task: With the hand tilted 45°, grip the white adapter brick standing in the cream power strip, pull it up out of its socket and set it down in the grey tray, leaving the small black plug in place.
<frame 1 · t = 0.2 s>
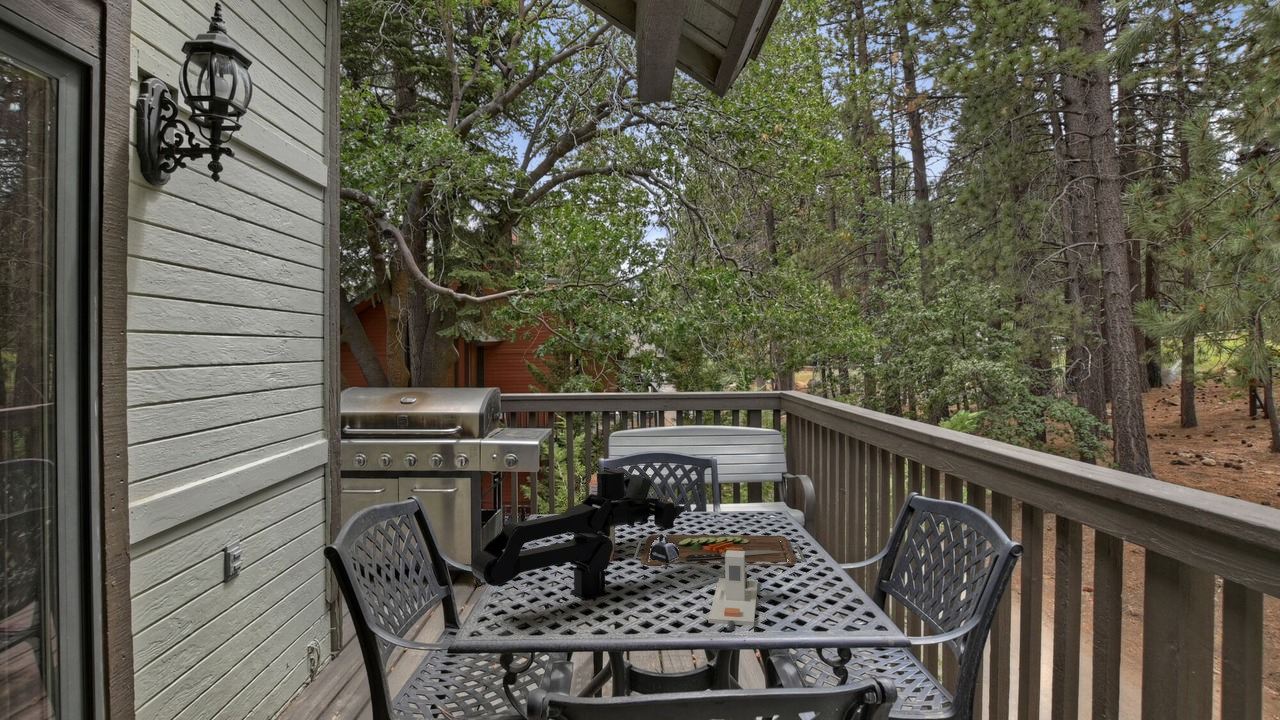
hand: (671, 504, 170), 17 cm above the table, tool horizontal, fingers open, 9 cm apart
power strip: (735, 605, 146), on the table
cracker box: (603, 554, 184), on the table
black plug: (737, 587, 155), point 1 cm above the table, touching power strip
adapter: (735, 598, 148), point 1 cm above the table, touching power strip
tray: (690, 580, 162), on the table
chopping board: (717, 554, 184), on the table
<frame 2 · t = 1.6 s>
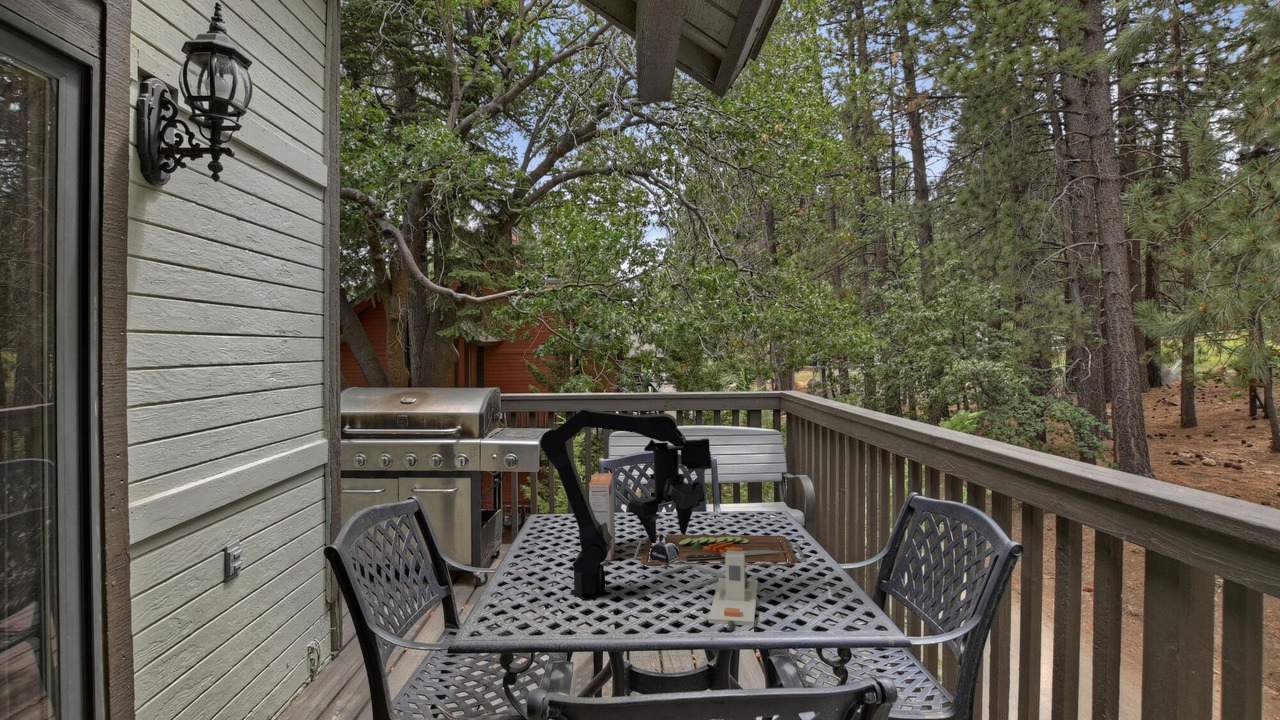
hand: (668, 538, 153), 13 cm above the table, tool pointing down, fingers open, 9 cm apart
nothing on the table moved.
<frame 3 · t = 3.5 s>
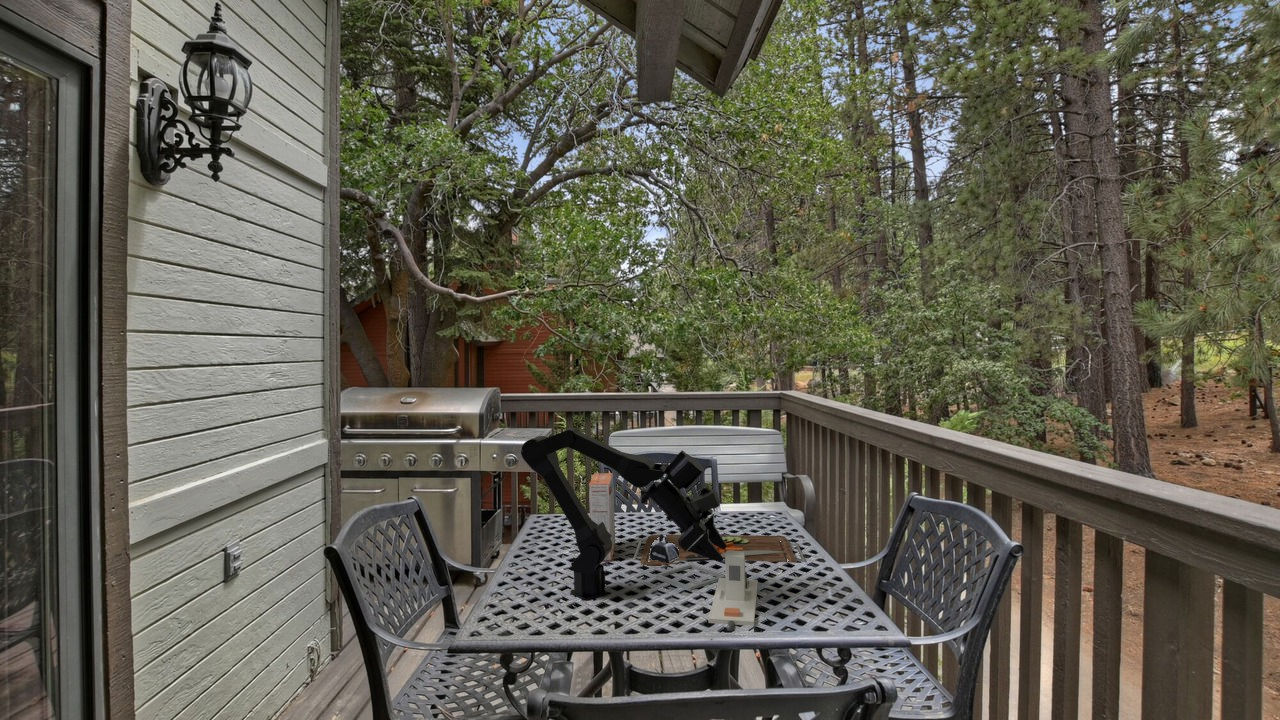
hand: (723, 554, 148), 11 cm above the table, tool tilted 45°, fingers open, 9 cm apart
nothing on the table moved.
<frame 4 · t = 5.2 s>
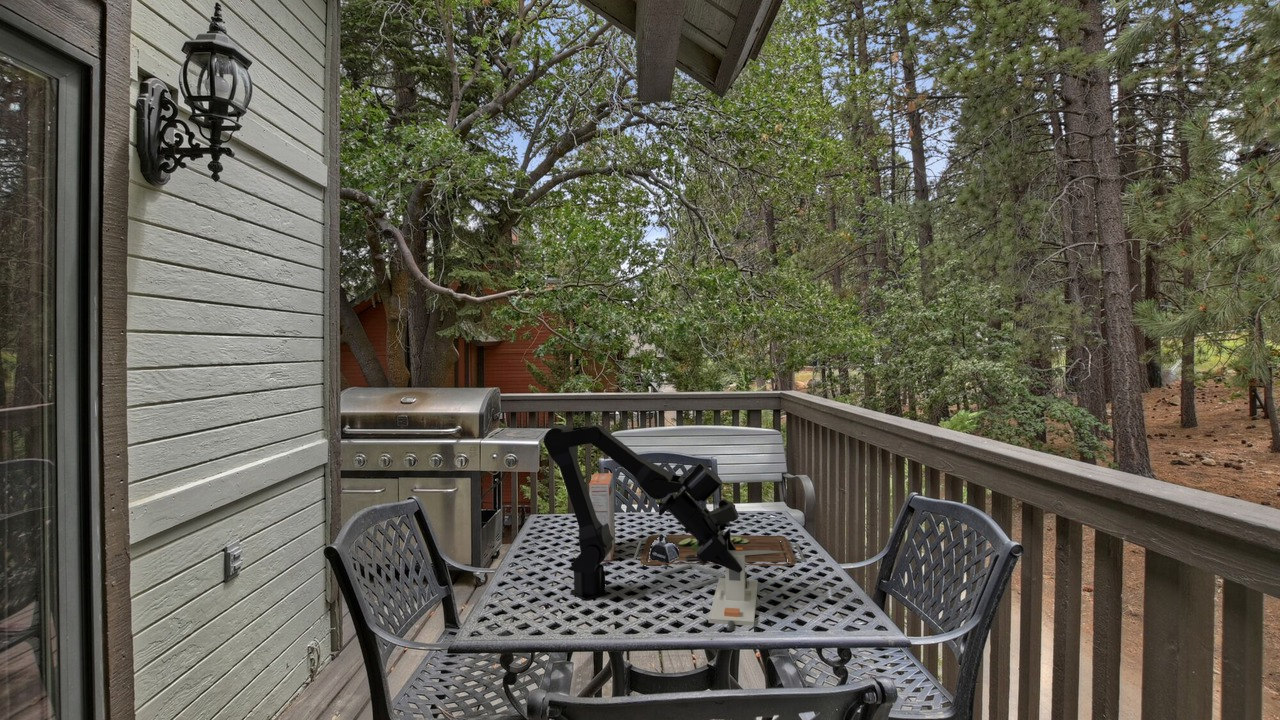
hand: (741, 567, 147), 8 cm above the table, tool tilted 45°, fingers closed on adapter, 5 cm apart
adapter: (735, 598, 148), point 1 cm above the table, touching gripper, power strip
everything else where it was.
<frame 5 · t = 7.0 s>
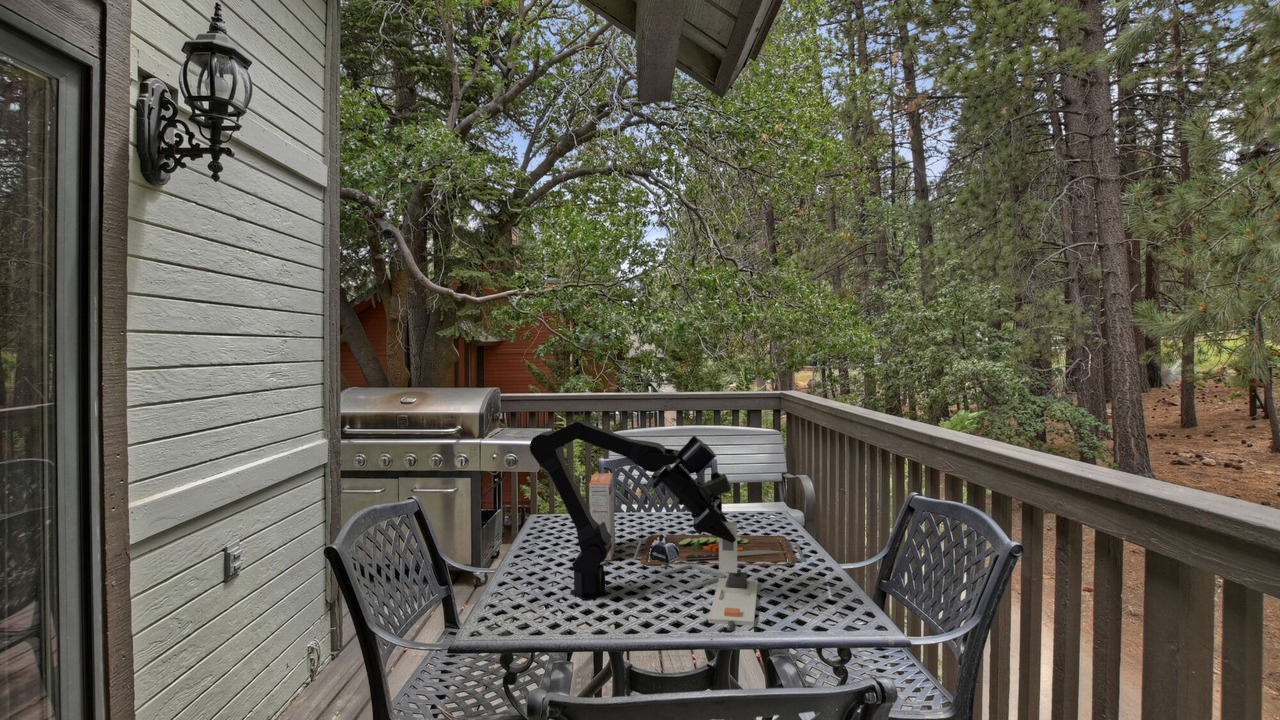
hand: (734, 537, 150), 14 cm above the table, tool tilted 45°, fingers closed on adapter, 5 cm apart
adapter: (728, 569, 151), point 6 cm above the table, touching gripper
everything else where it was.
when the fingers open (8 cm above the table, at t = 9.3 s): adapter stays where it is, resting on tray.
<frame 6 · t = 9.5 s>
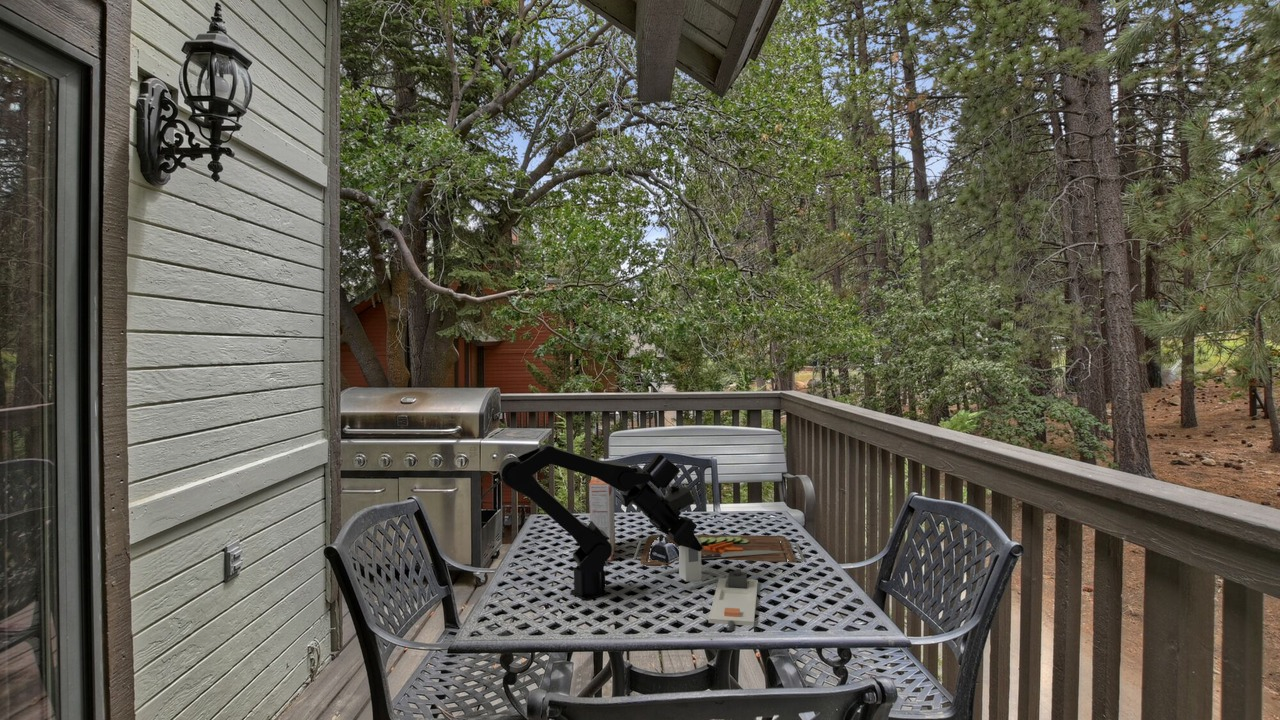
hand: (695, 545, 162), 8 cm above the table, tool tilted 45°, fingers open, 7 cm apart
adapter: (690, 578, 162), resting on tray
everything else where it was.
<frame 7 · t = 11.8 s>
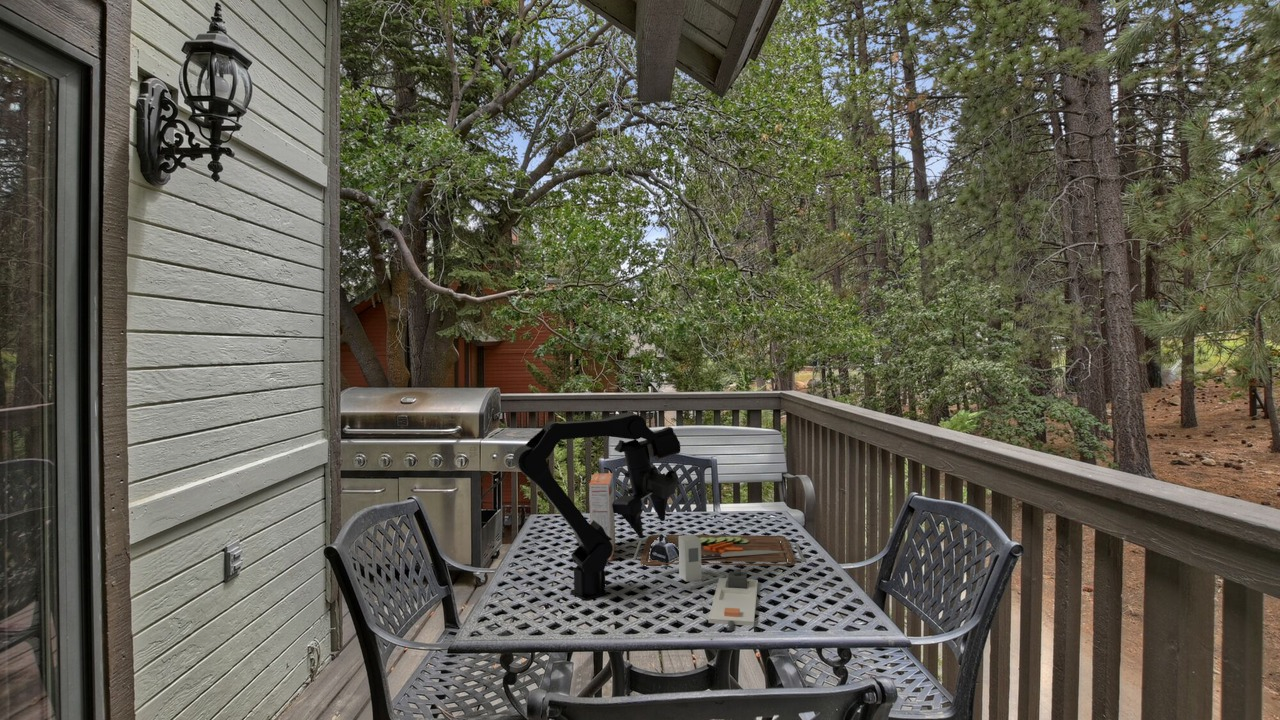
hand: (651, 528, 160), 13 cm above the table, tool pointing down, fingers open, 9 cm apart
nothing on the table moved.
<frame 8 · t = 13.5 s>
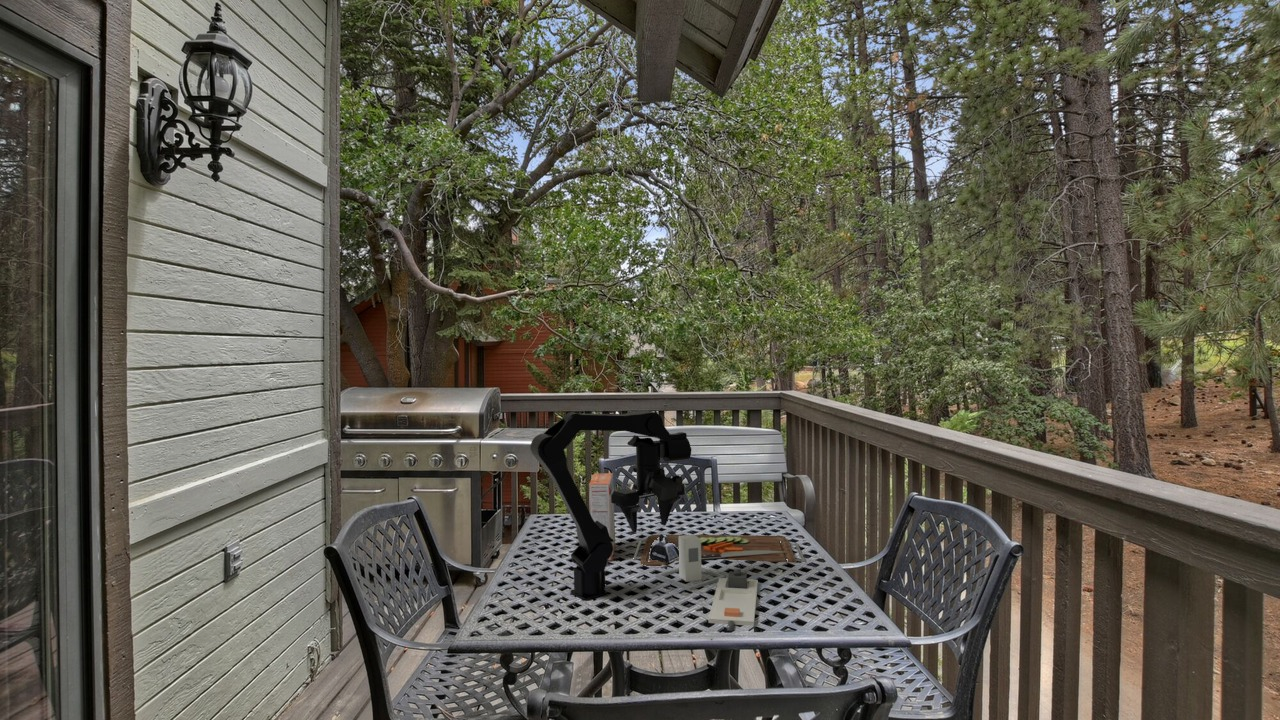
hand: (649, 528, 161), 13 cm above the table, tool pointing down, fingers open, 9 cm apart
nothing on the table moved.
at the end: adapter inside the target area on the tray (0.2 cm from its centre), point 0.4 cm above the tray's base; adapter tilted 0°; the gripper is holding nothing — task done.
